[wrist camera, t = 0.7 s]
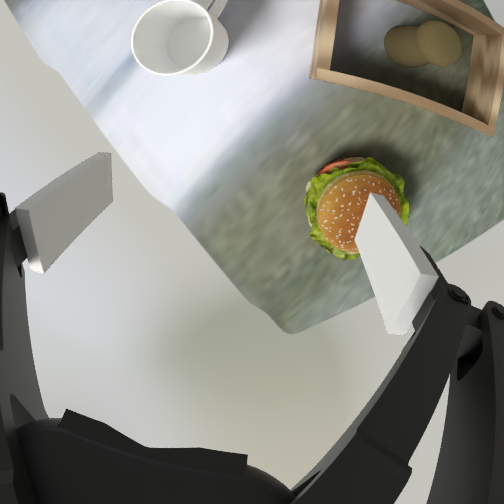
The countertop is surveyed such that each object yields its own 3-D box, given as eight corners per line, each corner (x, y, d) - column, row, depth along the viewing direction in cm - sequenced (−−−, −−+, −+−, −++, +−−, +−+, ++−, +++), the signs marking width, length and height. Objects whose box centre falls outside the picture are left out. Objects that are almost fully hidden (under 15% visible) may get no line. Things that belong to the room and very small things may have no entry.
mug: (206, -17, 26) (183, -42, 18) (261, 12, 28) (256, -9, 20) (153, 56, 32) (116, 54, 23) (205, 86, 34) (181, 90, 25)
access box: (323, -28, 24) (332, -46, 18) (480, 31, 24) (508, 31, 18) (309, 78, 33) (316, 78, 27) (465, 125, 33) (492, 137, 27)
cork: (403, 76, 31) (444, 81, 22) (374, 39, 29) (409, 29, 19) (433, 55, 28) (479, 56, 19) (406, 18, 26) (447, 6, 17)
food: (309, 248, 46) (314, 281, 39) (295, 158, 39) (300, 178, 32) (396, 236, 44) (413, 266, 37) (395, 146, 36) (418, 164, 30)
